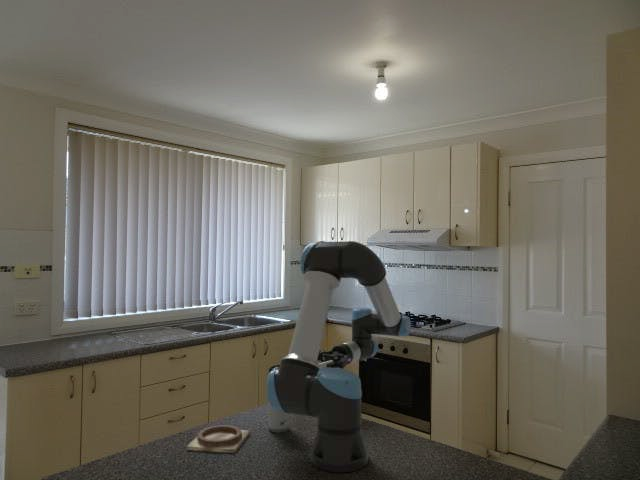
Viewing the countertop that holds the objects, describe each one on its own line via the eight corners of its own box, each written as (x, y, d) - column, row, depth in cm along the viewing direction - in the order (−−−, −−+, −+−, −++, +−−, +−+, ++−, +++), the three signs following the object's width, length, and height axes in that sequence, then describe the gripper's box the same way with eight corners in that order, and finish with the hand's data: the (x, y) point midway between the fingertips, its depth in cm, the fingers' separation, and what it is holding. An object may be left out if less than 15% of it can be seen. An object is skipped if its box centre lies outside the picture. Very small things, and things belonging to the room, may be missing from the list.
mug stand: (249, 433, 144) (249, 425, 144) (234, 453, 130) (234, 443, 130) (206, 431, 146) (206, 423, 146) (186, 449, 132) (186, 440, 132)
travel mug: (287, 433, 144) (287, 367, 144) (266, 432, 145) (266, 366, 145) (291, 426, 150) (291, 363, 150) (271, 425, 151) (271, 362, 152)
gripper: (372, 370, 163) (331, 383, 148) (320, 358, 180) (278, 369, 165) (372, 348, 163) (331, 359, 148) (320, 339, 180) (278, 347, 165)
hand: (303, 364), depth 156 cm, fingers open, 13 cm apart
